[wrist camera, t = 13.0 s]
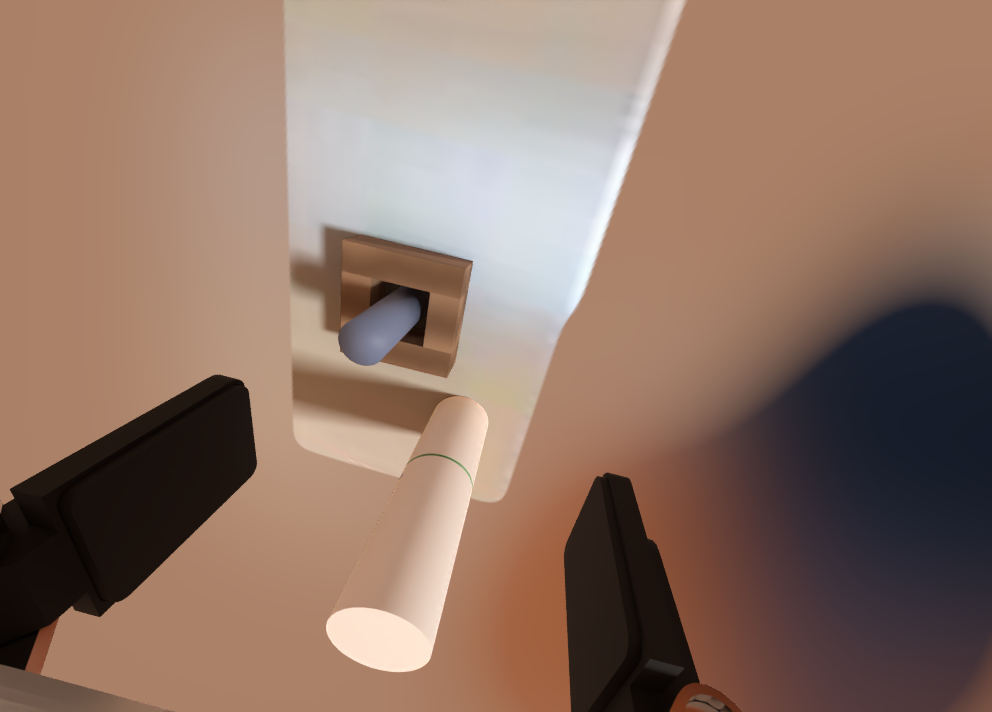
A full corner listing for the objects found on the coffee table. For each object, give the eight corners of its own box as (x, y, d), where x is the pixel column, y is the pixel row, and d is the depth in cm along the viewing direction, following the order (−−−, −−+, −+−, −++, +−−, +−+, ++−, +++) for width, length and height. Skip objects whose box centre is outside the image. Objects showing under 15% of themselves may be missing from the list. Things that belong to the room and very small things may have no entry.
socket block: (361, 234, 38) (342, 239, 34) (473, 261, 37) (465, 269, 34) (357, 337, 43) (340, 351, 39) (455, 362, 43) (446, 378, 39)
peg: (395, 280, 39) (338, 315, 28) (430, 289, 39) (387, 326, 28) (392, 314, 41) (337, 359, 30) (426, 322, 41) (384, 370, 30)
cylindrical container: (425, 427, 47) (315, 644, 25) (446, 386, 44) (342, 592, 22) (473, 451, 48) (409, 683, 25) (497, 412, 45) (448, 638, 22)
